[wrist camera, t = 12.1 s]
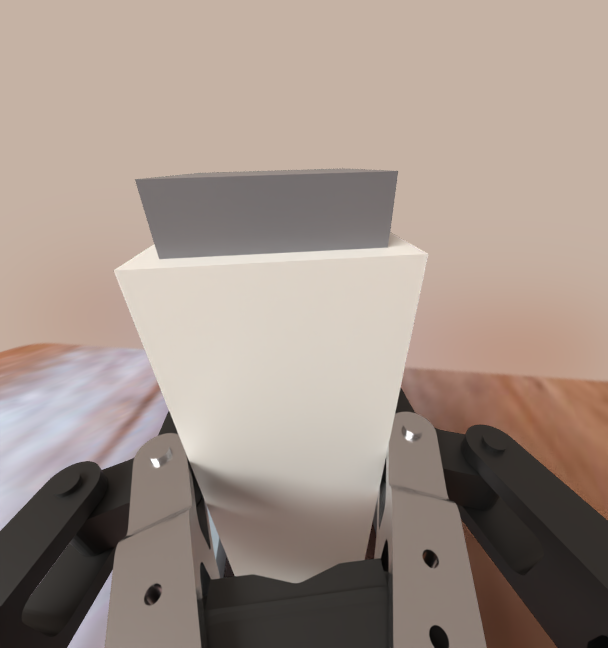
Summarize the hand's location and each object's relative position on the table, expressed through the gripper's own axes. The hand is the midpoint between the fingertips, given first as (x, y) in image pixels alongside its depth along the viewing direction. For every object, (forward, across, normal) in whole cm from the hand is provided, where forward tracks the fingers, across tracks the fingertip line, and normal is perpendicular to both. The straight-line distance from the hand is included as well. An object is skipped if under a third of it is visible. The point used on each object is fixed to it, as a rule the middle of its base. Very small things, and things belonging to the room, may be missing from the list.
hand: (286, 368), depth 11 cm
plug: (-2, 0, +8) cm, 8 cm away
